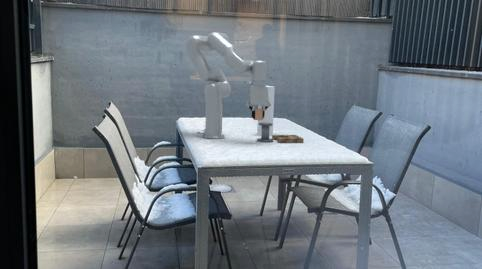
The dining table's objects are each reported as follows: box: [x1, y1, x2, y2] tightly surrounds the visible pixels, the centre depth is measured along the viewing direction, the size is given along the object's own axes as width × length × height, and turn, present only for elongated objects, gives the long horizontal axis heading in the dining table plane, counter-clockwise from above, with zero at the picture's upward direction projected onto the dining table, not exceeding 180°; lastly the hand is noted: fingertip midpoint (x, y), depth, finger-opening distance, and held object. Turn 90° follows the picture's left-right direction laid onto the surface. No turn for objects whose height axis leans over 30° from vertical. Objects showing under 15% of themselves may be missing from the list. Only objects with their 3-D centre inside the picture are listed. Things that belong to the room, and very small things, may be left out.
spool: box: [256, 122, 274, 143], centre depth 254 cm, size 9×9×10 cm
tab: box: [252, 107, 263, 121], centre depth 245 cm, size 4×4×6 cm
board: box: [271, 134, 305, 144], centre depth 257 cm, size 14×14×2 cm
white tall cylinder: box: [256, 85, 276, 137], centre depth 275 cm, size 9×9×30 cm
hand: (258, 118), depth 245 cm, fingers closed on tab, 4 cm apart
